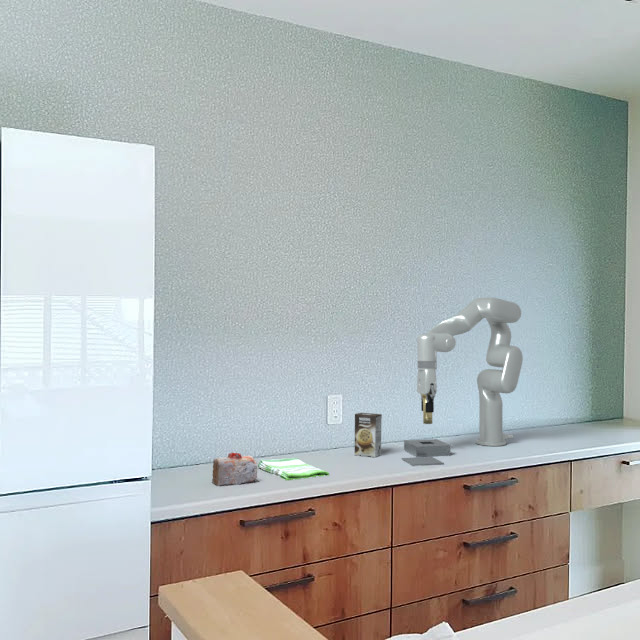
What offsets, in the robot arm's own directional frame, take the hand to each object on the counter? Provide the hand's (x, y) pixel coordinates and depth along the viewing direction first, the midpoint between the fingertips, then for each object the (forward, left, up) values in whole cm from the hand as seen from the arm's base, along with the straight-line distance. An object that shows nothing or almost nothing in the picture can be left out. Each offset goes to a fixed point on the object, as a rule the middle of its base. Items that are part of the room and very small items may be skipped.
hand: (427, 411), depth 282 cm
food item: (+80, +34, -17) cm, 88 cm away
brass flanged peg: (0, 0, -5) cm, 5 cm away
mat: (+8, +16, -16) cm, 25 cm away
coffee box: (+24, -1, -17) cm, 30 cm away
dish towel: (+58, +21, -17) cm, 65 cm away
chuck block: (0, 0, -16) cm, 16 cm away
